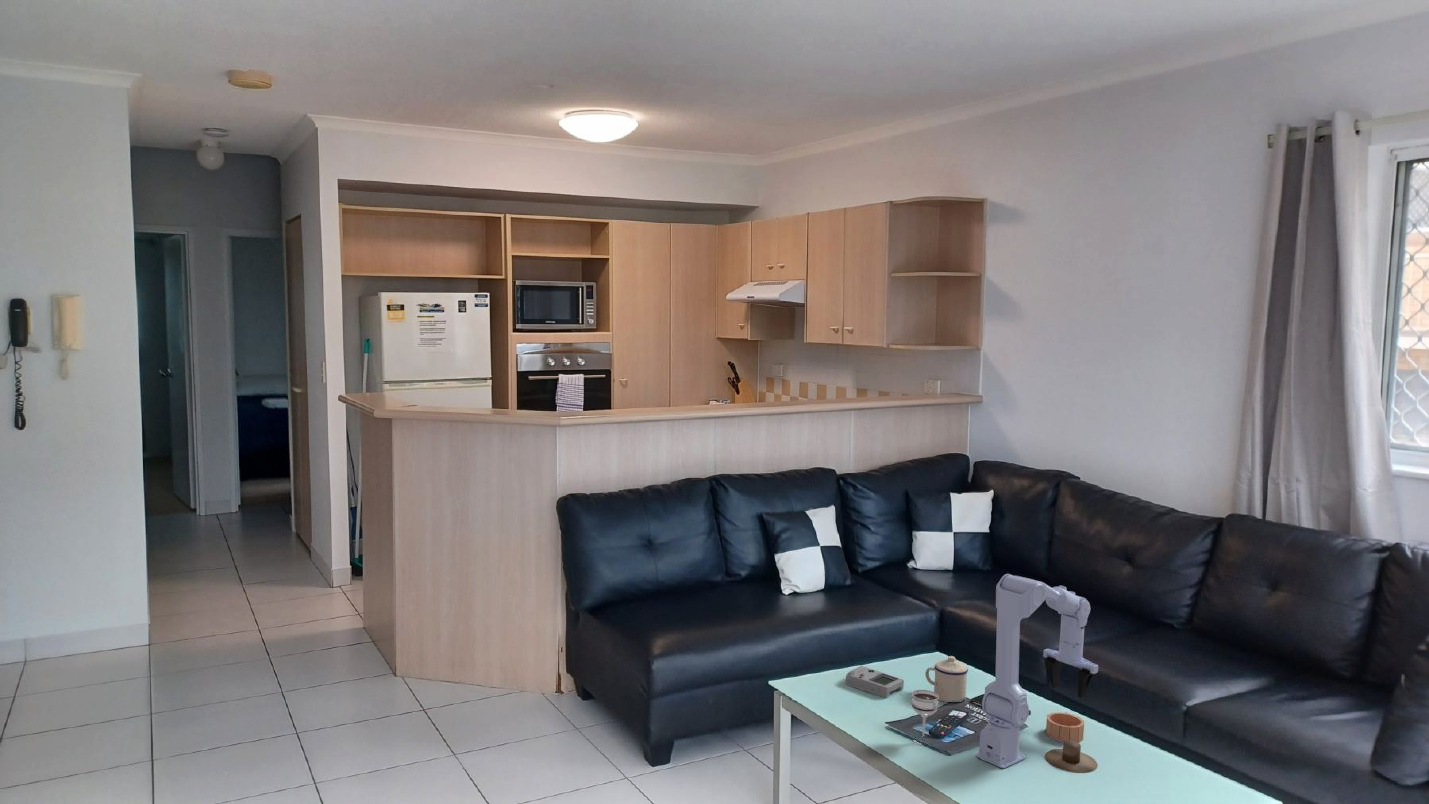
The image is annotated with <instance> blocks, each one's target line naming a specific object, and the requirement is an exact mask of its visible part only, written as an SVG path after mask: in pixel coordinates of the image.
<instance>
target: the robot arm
mask: <svg viewBox="0 0 1429 804" xmlns="http://www.w3.org/2000/svg"><path fill="white" fill-rule="evenodd" d="M995 588H996V589H995V608H996V610H997V611H996V633H995V634H996V641H995V643H996V645H995V647H996V648H995V649H996V650H995V652H996V653H995V680H994V681H992V682H989V683H988V684H987V685H986V686H985V687H984V693H983V694H984V697H983V701H982V707H981V708H982V710H983V712H984V714H986V719H987V720H988V723H987V724H986V726H985V727H984V728H982V729H981V731H980V734H979V747H978V748H979V749H978V753H976V754H975V757H976V758H978V759H981V760H983V761H985V762H986V763H987V762H988V763H990V764H992V765H994V766H997V767H998V768H1001V769H1006V768H1008V767H1010V766H1012V765H1014V764H1016V763H1019V762H1021V761H1023V760H1025V759H1026V755H1024V754H1021V753H1019V752H1020V751H1019V749H1020V733H1021V726H1023V725H1025V723H1026V722H1027V720H1028V718H1029V716H1030V715H1029V710H1030V707H1029V704H1028V695H1027V692H1026V691H1025V690H1024V689H1023V688H1022V686H1021V685H1020V684H1019V683H1020V682H1019V677H1020V676H1019V670H1020V668H1019V667H1020V664H1019V663H1020V631H1021V626H1020V625H1021V621H1022V619H1027V618H1029V617H1031V615H1032V614H1034V612H1035V611H1036V610H1037V609H1038V608H1039V607H1040V606H1041V605H1042V604H1043V602H1045V603H1046V605H1047V606H1048V607H1049V608H1050V609H1052V610H1055V611H1057V614H1059V615H1060V630H1059V631H1060V633H1059V647H1058V648H1059V649H1058V650H1054V649H1051V648H1046V649H1043V655H1042V657H1043V658H1046V659H1045V660H1043V663H1044V666H1045V668H1046V670H1047V672H1048V675H1049V678H1050V683H1051V688H1052V689H1056V688H1058V687H1059V686H1060V681H1061V680H1060V678H1061V675H1060V674H1061V669H1062V665H1063V663H1064V664H1067V665H1069V666H1072V667H1074V668H1078V669H1081V670H1077V671H1076V676H1077V682H1078V686H1077V687H1078V689H1077V696H1078V697H1077V698H1080V699H1081V698H1082V699H1083V698H1084V697H1086V694H1087V692H1088V691H1087V690H1088V688H1089V685H1090V683H1091V682H1092V680H1093V679H1094V677H1095V676H1096V674H1097V673H1098V672H1099V664H1096V663H1093V662H1092V661H1090V660H1088V659H1086V658H1084V657H1083V655H1084V654H1083V652H1084V638H1085V637H1084V636H1085V626H1087V623H1088V618H1089V615H1090V613H1091V604H1090V602H1089V601H1088V600H1087V598H1086V597H1083V596H1079V595H1076V592H1075V591H1071V590H1069V591H1068V590H1067V587H1066V586H1064V585H1058V586H1053V587H1051V586H1050V585H1048V584H1046V583H1045V582H1043V581H1041V580H1040V581H1039V580H1035V579H1033V578H1028V577H1023V576H1019V575H1013V574H1010V573H1006V574H1004V575H1003V576H1002V577H1001V578H1000V580H999V581H998V583H997V584H996V587H995Z"/></svg>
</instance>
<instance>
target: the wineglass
mask: <svg viewBox="0 0 1429 804" xmlns="http://www.w3.org/2000/svg"><path fill="white" fill-rule="evenodd" d="M911 695H912V697H911V699H910V700H911V701H910V704H911V707H912V709H913V711H914V712H915V713H916V714H918V715H920V716H921V718H922V737H923V736H924V737H925V731H926V720H927V718H928V717H929V716H933V715H934V714H935V713H936V712H937V711H938V709H939V704H940V702H939V700H938V698H939V695H938V694H937V693H935V692H934V690H933V691H932V690H927V689H916V690H913V691H911ZM912 741H913V743H915V744H916V745H919V746H924V745H922V744H921V743H919V742H917V741H916V740H913V739H912ZM924 747H925V746H924Z"/></svg>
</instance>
